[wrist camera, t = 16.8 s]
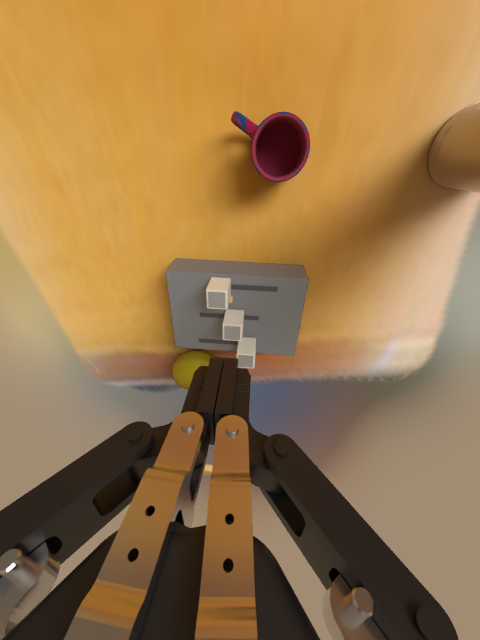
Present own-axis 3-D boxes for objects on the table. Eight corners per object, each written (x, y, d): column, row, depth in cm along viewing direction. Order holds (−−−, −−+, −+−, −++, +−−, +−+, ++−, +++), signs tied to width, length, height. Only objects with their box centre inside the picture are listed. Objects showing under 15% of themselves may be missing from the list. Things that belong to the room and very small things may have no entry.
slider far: (255, 338, 44) (255, 355, 40) (254, 351, 46) (254, 369, 42) (238, 336, 44) (236, 354, 40) (238, 350, 46) (236, 367, 42)
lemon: (183, 372, 59) (173, 400, 52) (170, 346, 55) (157, 372, 48) (227, 366, 57) (223, 394, 50) (217, 339, 53) (211, 365, 46)
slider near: (231, 278, 39) (227, 291, 35) (230, 295, 40) (227, 310, 36) (211, 277, 39) (205, 290, 35) (212, 294, 40) (206, 309, 36)
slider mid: (244, 310, 41) (242, 325, 38) (243, 325, 43) (241, 341, 39) (226, 309, 42) (222, 324, 38) (226, 324, 43) (222, 340, 39)
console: (303, 265, 43) (308, 279, 38) (290, 338, 51) (294, 357, 46) (176, 258, 44) (165, 271, 39) (184, 331, 52) (175, 349, 47)
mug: (279, 189, 37) (282, 194, 32) (224, 139, 35) (217, 134, 29) (312, 145, 34) (322, 142, 28) (255, 87, 32) (253, 70, 26)
